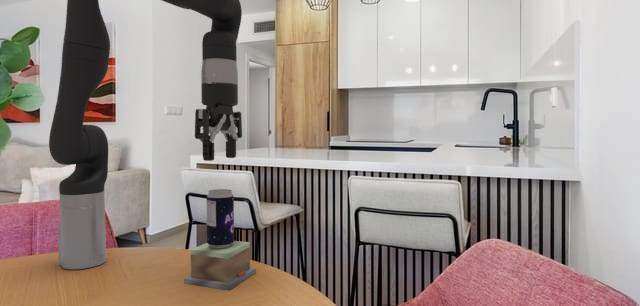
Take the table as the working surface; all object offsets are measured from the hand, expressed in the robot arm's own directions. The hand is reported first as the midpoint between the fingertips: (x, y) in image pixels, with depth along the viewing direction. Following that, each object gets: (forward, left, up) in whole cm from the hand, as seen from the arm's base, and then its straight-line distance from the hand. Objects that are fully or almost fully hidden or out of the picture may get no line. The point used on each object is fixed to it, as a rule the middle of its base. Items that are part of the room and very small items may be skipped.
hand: (220, 159), depth 87 cm
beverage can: (0, 0, -19) cm, 19 cm away
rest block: (0, 0, -26) cm, 26 cm away
